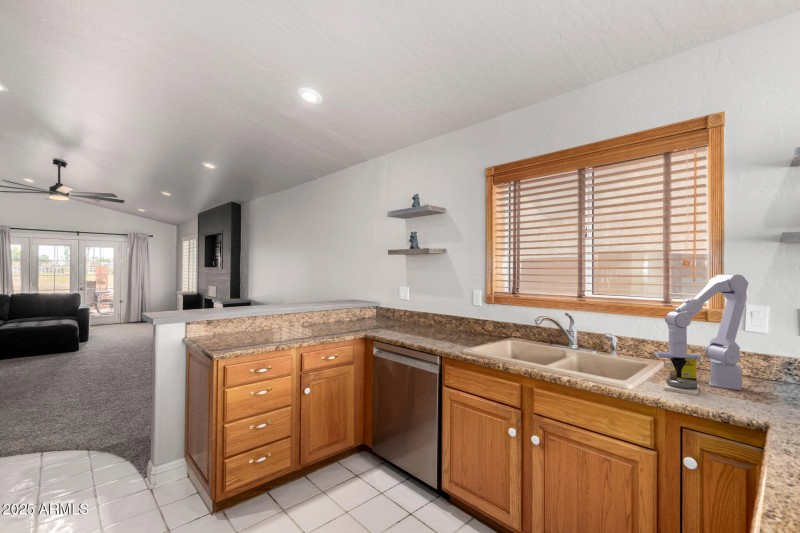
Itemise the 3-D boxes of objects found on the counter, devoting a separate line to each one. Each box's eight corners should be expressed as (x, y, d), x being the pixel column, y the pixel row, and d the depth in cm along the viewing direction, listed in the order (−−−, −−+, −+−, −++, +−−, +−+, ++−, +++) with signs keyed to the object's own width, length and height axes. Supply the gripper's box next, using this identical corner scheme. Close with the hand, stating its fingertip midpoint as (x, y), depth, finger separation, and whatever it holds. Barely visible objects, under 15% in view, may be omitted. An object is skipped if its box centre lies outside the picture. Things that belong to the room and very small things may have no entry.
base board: (698, 387, 146) (698, 384, 146) (697, 395, 136) (697, 392, 136) (667, 382, 152) (667, 379, 152) (664, 389, 142) (664, 386, 142)
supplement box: (696, 380, 155) (696, 353, 155) (680, 379, 156) (680, 353, 156) (688, 376, 161) (688, 350, 161) (673, 375, 162) (673, 350, 162)
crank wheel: (704, 388, 140) (704, 375, 140) (681, 389, 139) (681, 376, 139) (681, 380, 150) (681, 369, 150) (659, 381, 148) (659, 369, 148)
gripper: (660, 343, 146) (661, 378, 146) (704, 345, 142) (705, 381, 142) (653, 340, 153) (654, 373, 152) (695, 341, 149) (695, 376, 149)
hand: (678, 377), depth 148 cm, fingers closed, pressing on crank wheel
